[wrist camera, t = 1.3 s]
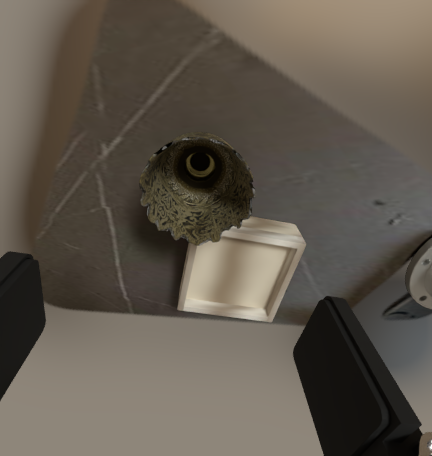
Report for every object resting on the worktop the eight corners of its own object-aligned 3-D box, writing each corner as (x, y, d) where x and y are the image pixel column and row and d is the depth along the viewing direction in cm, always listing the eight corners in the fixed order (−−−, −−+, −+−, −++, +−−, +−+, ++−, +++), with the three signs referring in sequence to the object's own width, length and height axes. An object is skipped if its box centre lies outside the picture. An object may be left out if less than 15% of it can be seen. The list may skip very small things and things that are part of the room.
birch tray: (295, 224, 28) (306, 244, 25) (265, 297, 33) (271, 322, 30) (195, 206, 27) (194, 225, 24) (180, 285, 32) (177, 309, 28)
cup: (188, 212, 27) (181, 262, 20) (140, 147, 24) (113, 179, 17) (256, 174, 25) (274, 214, 18) (214, 98, 22) (218, 112, 15)
